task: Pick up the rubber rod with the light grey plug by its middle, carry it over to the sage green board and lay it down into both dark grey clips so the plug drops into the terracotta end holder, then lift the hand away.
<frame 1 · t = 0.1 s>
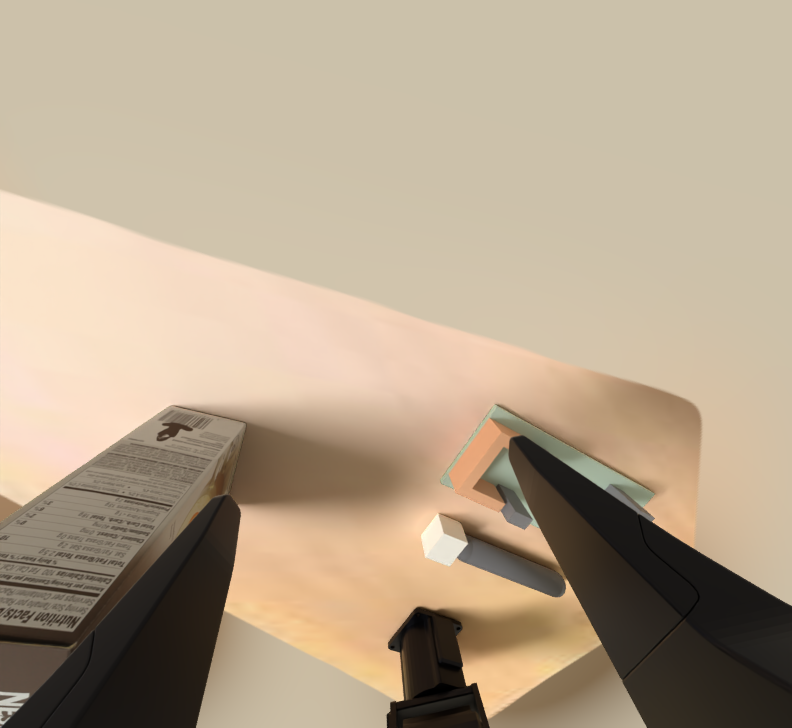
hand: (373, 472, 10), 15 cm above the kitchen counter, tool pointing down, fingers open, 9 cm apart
clip board: (561, 491, 31), on the kitchen counter
coffee box: (201, 456, 26), on the kitchen counter
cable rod: (506, 556, 33), on the kitchen counter
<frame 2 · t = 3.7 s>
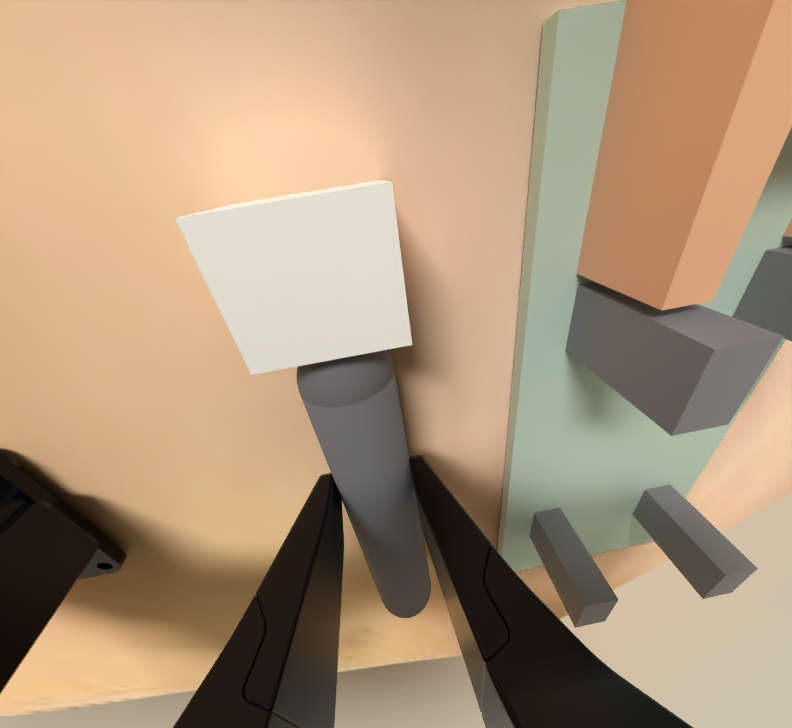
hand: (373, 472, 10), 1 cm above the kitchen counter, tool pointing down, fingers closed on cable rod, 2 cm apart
clip board: (613, 435, 12), on the kitchen counter
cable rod: (381, 482, 12), on the kitchen counter, touching gripper
when the fingers open (2 cm above the kitchen counter, at t = 7.3 s): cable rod stays where it is, resting on clip board.
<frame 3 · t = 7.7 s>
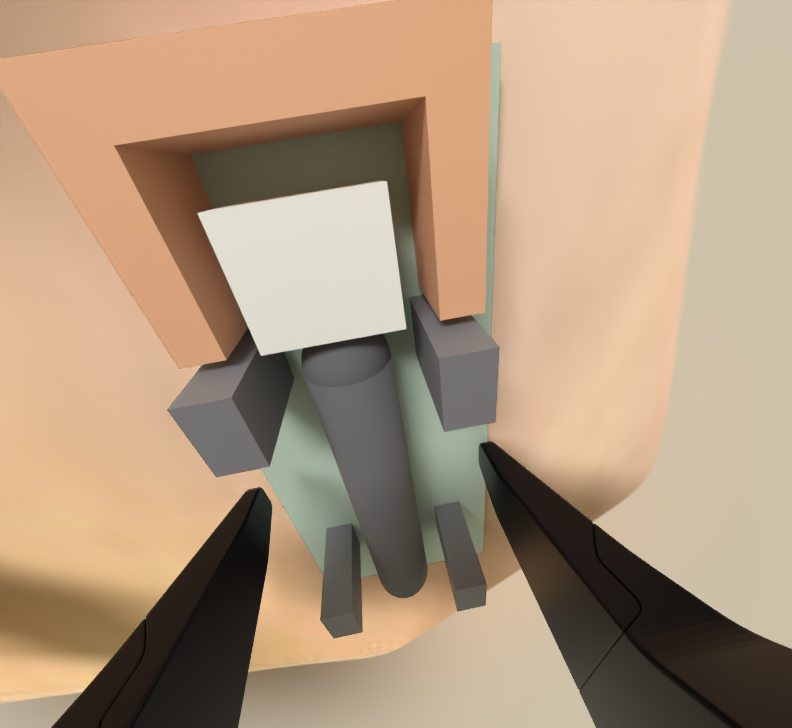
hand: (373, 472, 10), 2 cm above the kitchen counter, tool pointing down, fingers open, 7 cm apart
clip board: (380, 457, 13), on the kitchen counter
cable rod: (380, 467, 12), resting on clip board
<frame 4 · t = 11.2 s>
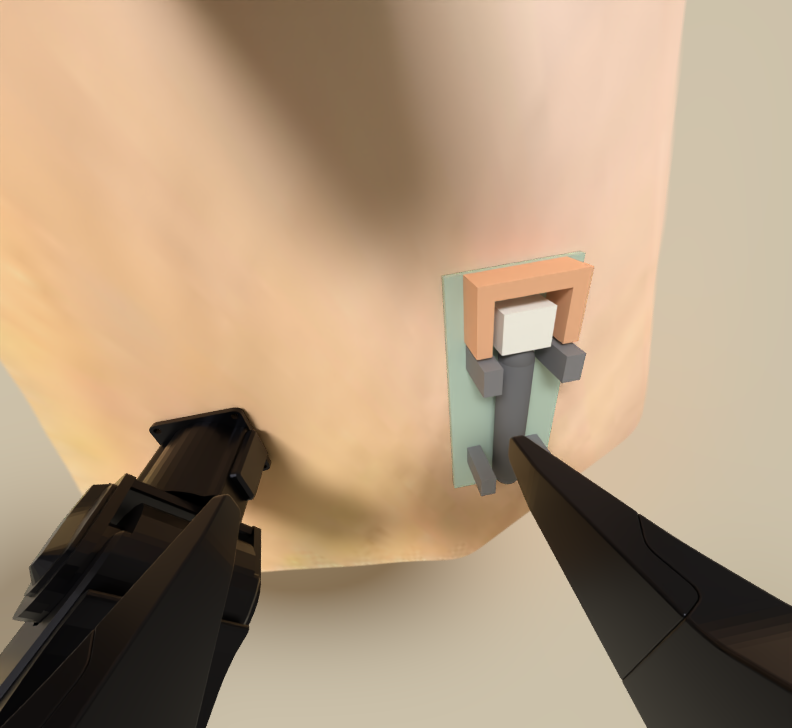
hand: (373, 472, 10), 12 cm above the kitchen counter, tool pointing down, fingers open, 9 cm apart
clip board: (501, 407, 25), on the kitchen counter
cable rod: (503, 411, 25), resting on clip board
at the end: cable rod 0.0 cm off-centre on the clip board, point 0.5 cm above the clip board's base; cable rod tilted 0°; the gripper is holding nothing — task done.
